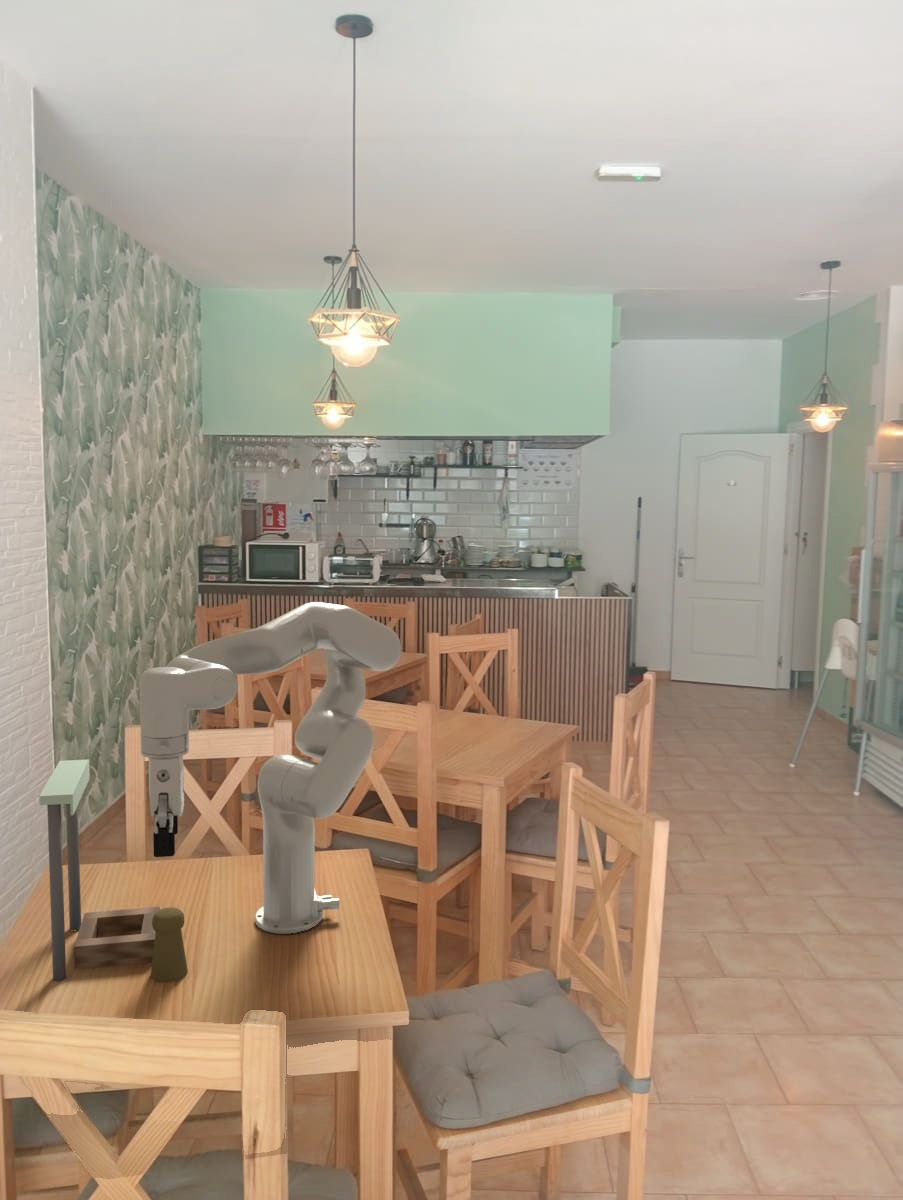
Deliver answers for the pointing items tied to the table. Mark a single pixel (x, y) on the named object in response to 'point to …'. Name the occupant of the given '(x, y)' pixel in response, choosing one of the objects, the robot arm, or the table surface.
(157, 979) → the olive pawn
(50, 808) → the stand
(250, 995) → the table surface
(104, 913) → the socket block
